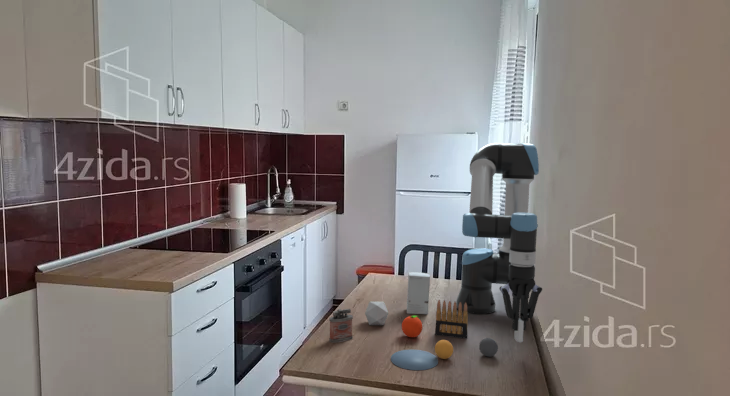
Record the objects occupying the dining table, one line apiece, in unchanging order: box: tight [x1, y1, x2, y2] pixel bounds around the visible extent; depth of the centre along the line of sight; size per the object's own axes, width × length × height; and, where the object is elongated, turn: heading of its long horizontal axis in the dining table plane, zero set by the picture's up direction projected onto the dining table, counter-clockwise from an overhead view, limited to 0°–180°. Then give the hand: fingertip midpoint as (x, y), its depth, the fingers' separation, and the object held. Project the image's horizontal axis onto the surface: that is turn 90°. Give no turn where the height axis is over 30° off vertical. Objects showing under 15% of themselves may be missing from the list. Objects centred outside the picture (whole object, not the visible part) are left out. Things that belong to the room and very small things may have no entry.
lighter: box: [328, 308, 354, 343], centre depth 161 cm, size 8×3×10 cm, turn 117°
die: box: [364, 301, 389, 326], centre depth 176 cm, size 8×9×10 cm
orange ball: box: [434, 339, 454, 360], centre depth 148 cm, size 6×6×6 cm
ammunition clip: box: [434, 299, 469, 339], centre depth 166 cm, size 11×2×12 cm, turn 74°
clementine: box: [401, 315, 423, 338], centre depth 165 cm, size 8×7×7 cm
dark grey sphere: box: [478, 337, 499, 358], centre depth 150 cm, size 6×6×6 cm
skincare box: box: [406, 271, 431, 315], centre depth 189 cm, size 8×6×15 cm
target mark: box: [390, 348, 439, 371], centre depth 147 cm, size 14×14×1 cm
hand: (518, 340), depth 151 cm, fingers closed
